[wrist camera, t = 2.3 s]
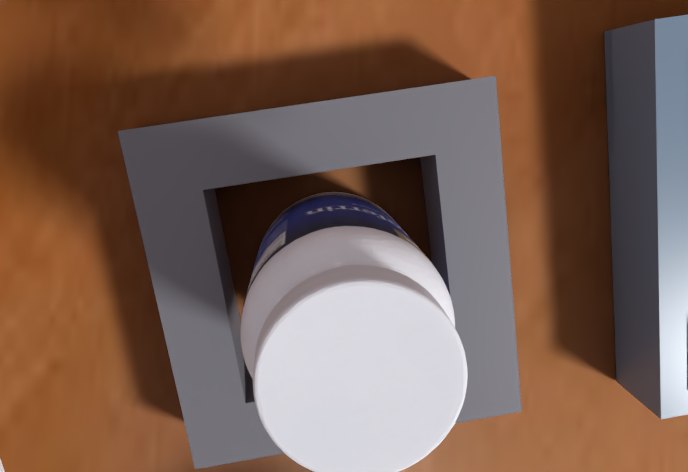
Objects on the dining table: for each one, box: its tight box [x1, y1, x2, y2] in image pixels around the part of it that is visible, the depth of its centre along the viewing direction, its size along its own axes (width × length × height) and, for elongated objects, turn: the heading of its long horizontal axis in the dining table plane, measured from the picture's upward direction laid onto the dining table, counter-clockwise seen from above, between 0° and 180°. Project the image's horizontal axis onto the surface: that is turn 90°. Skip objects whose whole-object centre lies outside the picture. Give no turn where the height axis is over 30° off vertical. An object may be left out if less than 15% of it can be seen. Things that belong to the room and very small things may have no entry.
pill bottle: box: [240, 192, 468, 472], centre depth 17 cm, size 6×6×10 cm
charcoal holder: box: [118, 76, 522, 469], centre depth 21 cm, size 12×12×2 cm
